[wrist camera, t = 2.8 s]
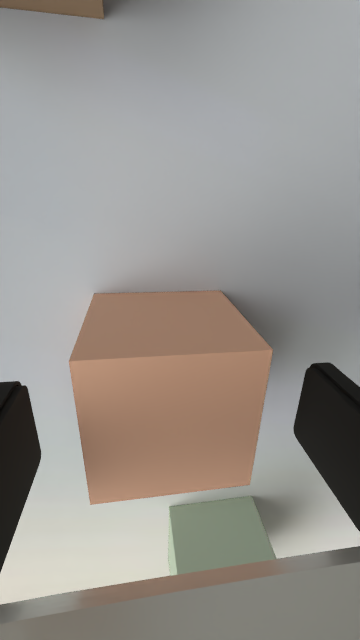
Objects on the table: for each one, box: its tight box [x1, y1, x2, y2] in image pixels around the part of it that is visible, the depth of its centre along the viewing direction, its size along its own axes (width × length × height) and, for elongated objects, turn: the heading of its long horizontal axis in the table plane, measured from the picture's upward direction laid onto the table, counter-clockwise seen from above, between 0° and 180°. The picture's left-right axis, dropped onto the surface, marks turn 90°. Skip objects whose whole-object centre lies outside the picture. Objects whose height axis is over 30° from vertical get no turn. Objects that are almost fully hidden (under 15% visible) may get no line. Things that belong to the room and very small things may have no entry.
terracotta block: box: [69, 291, 273, 505], centre depth 10 cm, size 5×5×5 cm
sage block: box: [168, 496, 276, 576], centre depth 16 cm, size 5×5×5 cm
